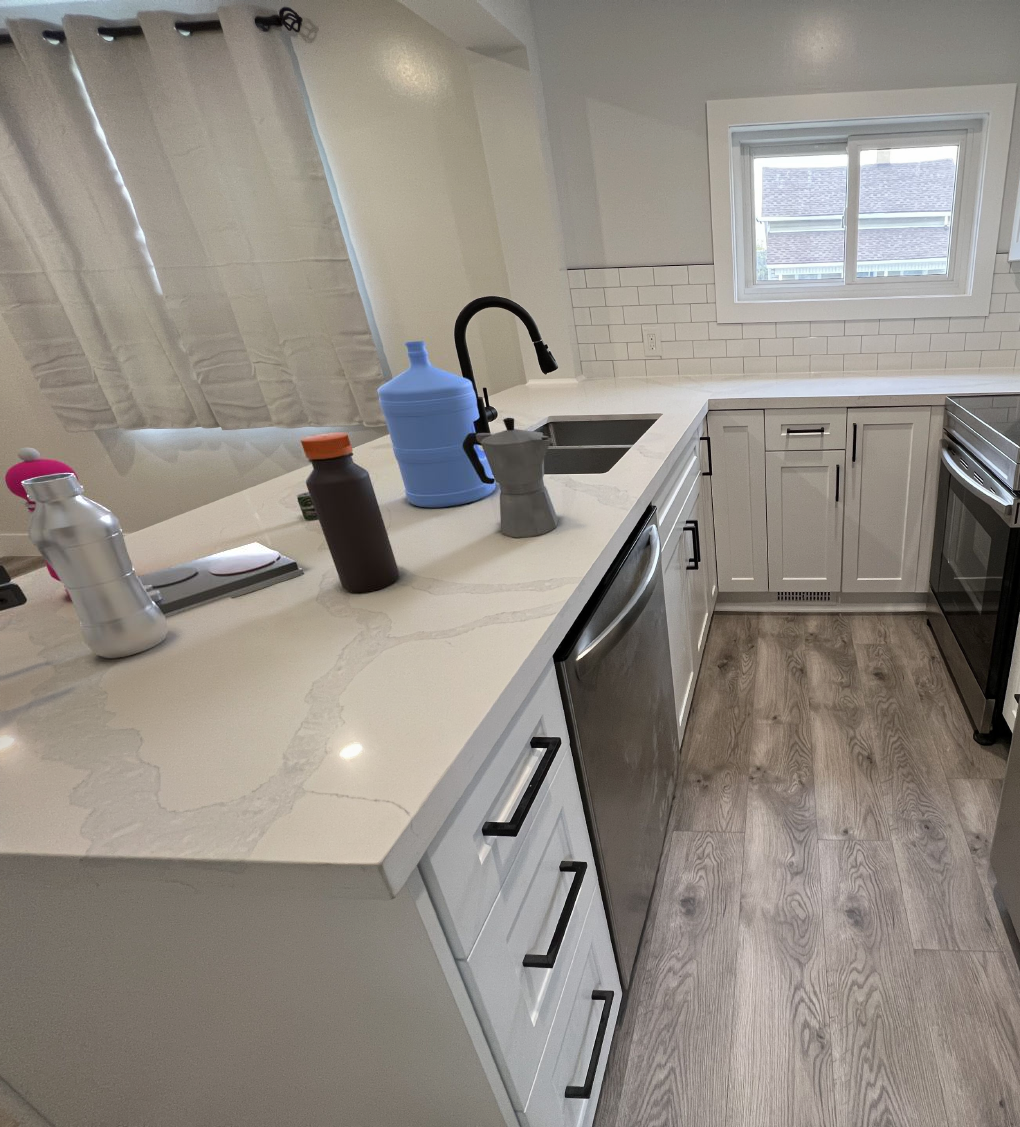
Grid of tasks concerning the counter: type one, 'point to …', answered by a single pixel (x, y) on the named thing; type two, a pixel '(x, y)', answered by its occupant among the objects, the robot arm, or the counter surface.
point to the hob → (217, 577)
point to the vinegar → (349, 514)
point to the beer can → (307, 506)
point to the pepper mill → (30, 470)
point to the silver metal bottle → (93, 567)
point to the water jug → (433, 433)
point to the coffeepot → (516, 478)
